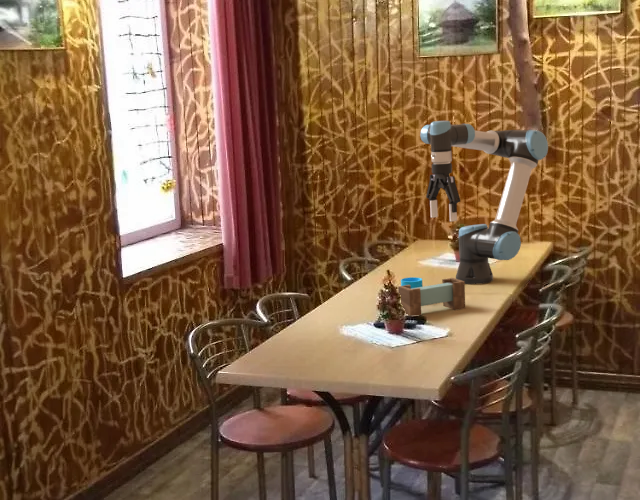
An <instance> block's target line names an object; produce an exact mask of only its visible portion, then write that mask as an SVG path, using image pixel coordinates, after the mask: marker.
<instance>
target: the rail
mask: <svg viewBox="0 0 640 500" xmlns="http://www.w3.org/2000/svg"><path fill="white" fill-rule="evenodd" d="M418 288H420V293H421V307H424V306H431V305H435V304H441V303H442V304H443V302H449V301H453V284H452V283H450V282H449V283H443V284H442V283H437V284H432V285H425V286H424V285H423V287H418ZM411 289H416V288H411Z"/></svg>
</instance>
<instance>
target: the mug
mask: <svg viewBox="0 0 640 500" xmlns="http://www.w3.org/2000/svg"><path fill="white" fill-rule="evenodd" d="M404 285H411V288H418V287H424V285H423V278H421V277H411V276H410V277H404V278H401V279H400V286H404Z"/></svg>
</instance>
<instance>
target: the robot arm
mask: <svg viewBox="0 0 640 500" xmlns="http://www.w3.org/2000/svg"><path fill="white" fill-rule="evenodd" d="M419 136H420V139H421V141H422V142H423V143H424V144H426V145H427V144H428V145H430V152H431V153H430V158H431V173H432V174H430V175H429V183H428V187H427V189H426V190H427V191H426V196H425V197H426V199H428V201H429V207H430V209H429V210H430V218H438V217H439V215H438V213H439V212H438V198H437V197H438V195H439V192H440V190H441V189H442V190H444V192H445V194H446V197H447V199H448V201H449V203H448V210H449V222H457V221H458V216H457V215H458V213H457V212H458V203H460V202H461V197H460V194H459V192H458V191H459V190H458V188H457V183H456V178H455V176H451V175H450V174H451V173H452V172H453V164H452V161H453V154H452V147H455V148H462V149H468V150H477V151H483V152H484V153H485V154H488V155H492V156H493V155H494V156H497V157H502V158H506V159H508V161H509V162H510V166H509V170H508V174H507V177H506V180H505V184H504V188H503V190H502V193H501V194H502V195H501V196H500V197H501V198H500V201H499V205H498V208H497V211H496V215H495V219H493V220H492V221H490V223H489V224H488V225H487V224H486V223H480V224H472V225H471V224H470V225H466V226H462V227H460V228H459V230H458V237H457V238H458V252H459V255H458V256H459V263H458V268H457V270H456V275H455V279H458V280H462V281H465V285H481V284H488V283H491V282H493V281H494V275H493V272H492V268H491V266H490V262H489V259H492V260H493V259H494V260H498V261H510V260H512V259H513V258H515V257H516V256H517V255H518V254H519V251H520V250H521V247H522V246H521V245H522V240H521V236H520V234H519V229H518V227H517V223H518V220H519V216H520V212H521V208H522V205H523V203H524V198H525V195H526V191H527V189H528V184H529V181H530V178H531V174H532V171H533V169H535V168H536V167H538V163H539V161H541V160H543V159H545V158H546V156H547V154H548V150H549V142H548V140H547V137H546V135H545V134H544V133H543V132H542V131H541V130H537V129H536V130H535V129H508V130H507V129H505V130H493V129H492V130H488V131H481V130H475V128H474V126H473V125H471V124H470V123H460V124H451V121H449V120H435V121H432V122H430V124H426V125H424V126H423V127H422V128H421V130H420V135H419Z"/></svg>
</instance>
